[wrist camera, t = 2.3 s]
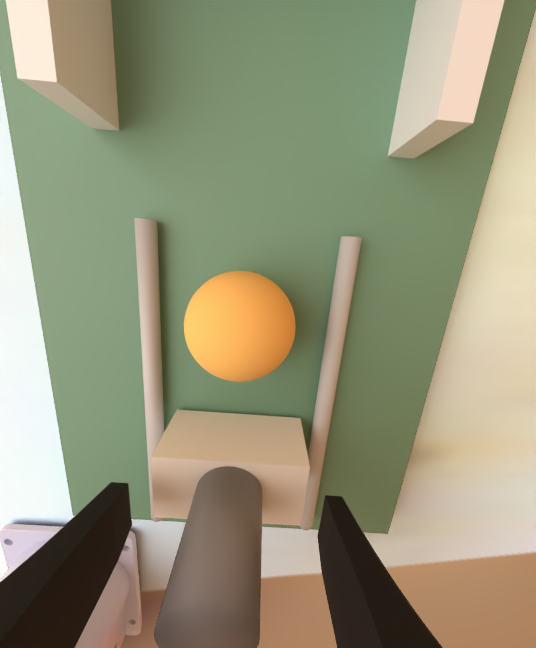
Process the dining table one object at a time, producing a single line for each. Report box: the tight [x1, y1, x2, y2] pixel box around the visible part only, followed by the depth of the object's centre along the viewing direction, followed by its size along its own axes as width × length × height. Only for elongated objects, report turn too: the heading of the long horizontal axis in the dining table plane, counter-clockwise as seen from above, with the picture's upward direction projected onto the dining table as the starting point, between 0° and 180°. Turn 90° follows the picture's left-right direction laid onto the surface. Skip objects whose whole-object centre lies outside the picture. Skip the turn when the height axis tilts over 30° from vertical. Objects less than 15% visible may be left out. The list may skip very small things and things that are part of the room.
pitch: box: [0, 0, 536, 534], centre depth 12 cm, size 26×18×2 cm
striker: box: [151, 410, 310, 648], centre depth 10 cm, size 3×6×7 cm, turn 85°
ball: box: [184, 271, 296, 382], centre depth 10 cm, size 4×4×4 cm
